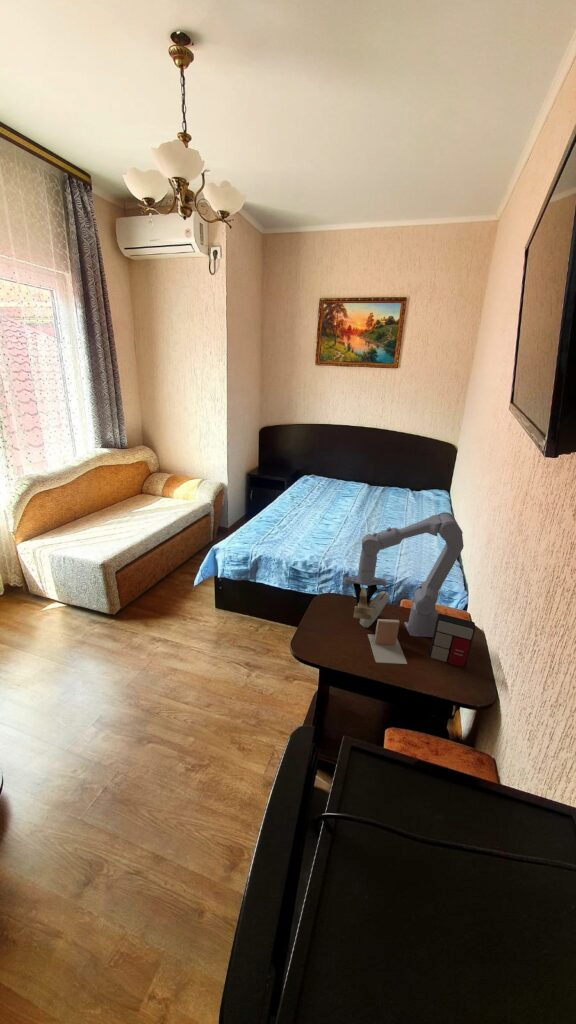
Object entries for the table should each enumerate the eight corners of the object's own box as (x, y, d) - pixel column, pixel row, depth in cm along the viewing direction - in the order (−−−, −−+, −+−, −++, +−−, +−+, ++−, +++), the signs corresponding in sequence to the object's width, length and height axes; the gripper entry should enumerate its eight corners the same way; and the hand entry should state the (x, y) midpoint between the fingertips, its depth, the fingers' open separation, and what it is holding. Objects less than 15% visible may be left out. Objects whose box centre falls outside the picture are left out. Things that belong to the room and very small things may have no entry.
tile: (394, 642, 137) (398, 620, 134) (395, 645, 136) (399, 622, 132) (374, 641, 137) (377, 618, 134) (374, 644, 135) (378, 621, 132)
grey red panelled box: (428, 659, 131) (437, 619, 126) (429, 651, 135) (438, 612, 130) (465, 669, 128) (475, 629, 122) (464, 661, 131) (475, 622, 126)
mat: (395, 637, 141) (396, 635, 141) (407, 665, 128) (407, 663, 127) (367, 635, 141) (367, 634, 140) (375, 663, 127) (375, 662, 127)
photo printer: (367, 630, 143) (382, 606, 137) (357, 622, 145) (372, 598, 139) (378, 617, 151) (393, 594, 145) (368, 610, 153) (383, 586, 147)
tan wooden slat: (368, 598, 153) (370, 588, 152) (371, 620, 138) (372, 609, 137) (352, 596, 153) (354, 586, 152) (353, 617, 138) (354, 606, 137)
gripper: (385, 563, 145) (380, 596, 149) (344, 561, 144) (340, 594, 149) (389, 573, 138) (384, 607, 143) (347, 571, 138) (343, 605, 142)
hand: (362, 601), depth 145 cm, fingers closed on tan wooden slat, 3 cm apart
